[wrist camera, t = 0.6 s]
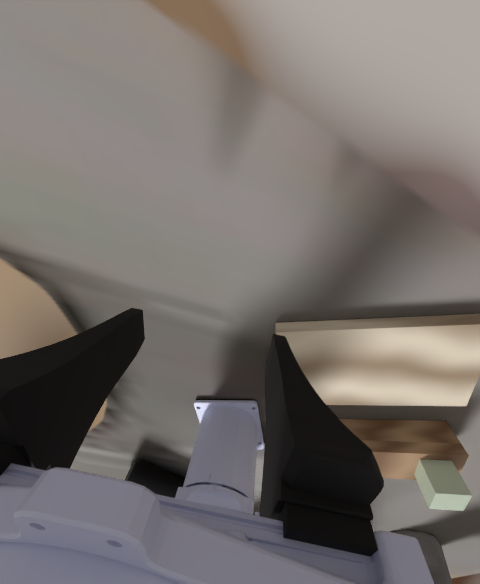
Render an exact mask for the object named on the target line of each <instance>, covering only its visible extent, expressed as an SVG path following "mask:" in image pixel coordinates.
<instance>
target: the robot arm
mask: <svg viewBox="0 0 480 584" xmlns="http://www.w3.org/2000/svg"><path fill="white" fill-rule="evenodd" d="M144 339H145V337H144V323H143V310H140V309H135V308H131V309H129V310H126V311H124V312H122V313H120V314H119V315H117V316H115V317H113V318H111V319H109V320H107V321H105V322H103V323H101V324H99V325H97V326H95V327H93V328H91V329H88V330H86V331H84V332H82V333H80V334H78V335H75V336H73V337H71V338H68V339H66V340H63V341H60V342H57V343H55V344H52V345H49V346H46V347H43V348H39V349H37V350H33V351H30V352H27V353H23V354H19V355H15V356H12V357H7V358H3V359H0V584H434V582H433V579H432V576H431V574H430V571H429V568H428V566H427V563H426V561H425V558H424V555H423V553H422V550H421V547H420V545H419V542H418V540H417V539H416V538H414V537H411V536H406V535H401V534H396V533H392V532H387V531H375V532H374V533H373V529H372V525H371V522H370V520H372V519H373V514H372V510H371V507H370V504H371V503H372V501H373V500H374V499H375V498H376V497H377V496H378V494H379V493H380V492H381V490H382V488H383V486H384V480H383V477H382V474H381V472H380V469H379V466H378V463H377V461H376V459H375V457H374V454H373V452H372V450H371V449H370V448H369V447H368V446H367V445H366V444H365V443H364V442H363V441H361V440H360V439H359V438H358V437H357V436H356V435H355V434H354V433H352V432H351V431H350V430H349V429H348V428H347V427H346V426H345V425H344V424H343V423H342V422H341V421H340V420H339V419H338V418H337V417H336V415H335V414H334V413H333V412H332V411H331V410H330V409H329V407H328V406H327V405H326V404H325V403H324V402H323V400H322V399H321V398H320V397H319V395H318V394H317V393H316V391H315V390H314V388H313V387H312V386H311V384H310V383H309V381H308V379H307V378H306V376H305V375H304V373H303V371H302V369H301V368H300V366H299V364H298V362H297V360H296V358H295V356H294V354H293V352H292V350H291V348H290V346H289V343H288V341H287V338H286V337H285V336H282V335H276V334H273V338H272V342H271V346H270V350H269V354H268V358H267V362H266V372H265V400H266V438H265V453H264V467H263V480H262V492H261V503H260V512H255V515H253V512H254V487H255V470H256V454H257V450H262V449H264V440H263V434H262V428H261V422H260V416H259V409H258V403H257V402H256V401H250V400H196V401H195V402H194V407H195V410H196V413H197V416H198V419H199V422H200V427H199V430H198V434H197V438H196V441H195V445H194V449H193V452H192V456H191V459H190V463H189V467H188V470H187V474H186V478H185V481H184V485H183V487H178V490H177V493H176V496H175V498H172V497H167V496H162V495H158V494H155V493H154V492H152V491H151V490H149V489H148V488H146V487H145V486H142V485H139V484H136V483H134V482H130V481H126V480H121V479H116V478H112V477H107V476H102V475H97V474H93V473H88V472H83V471H79V470H74V469H70V467H71V465H72V462H73V460H74V458H75V456H76V454H77V452H78V450H79V448H80V446H81V444H82V442H83V440H84V438H85V436H86V434H87V432H88V430H89V428H90V427H91V425H92V423H93V421H94V419H95V417H96V415H97V414H98V412H99V410H100V408H101V407H102V405H103V403H104V401H105V400H106V398H107V396H108V395H109V393H110V392H111V390H112V389H113V387H114V386H115V384H116V383H117V382H118V380H119V379H120V377H121V376H122V375H123V373H124V372H125V370H126V369H127V368H128V366H129V365H130V363H131V362H132V361H133V359H134V358H135V356H136V355H137V353H138V351H139V349H140V347H141V345H142V343H143V341H144Z"/></svg>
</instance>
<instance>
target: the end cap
mask: <svg viewBox="0 0 480 584" xmlns="http://www.w3.org/2000/svg"><path fill="white" fill-rule="evenodd" d="M125 480H126V481H130V482H134V483H136V484H139V485H142V486H145V487H146V488H148V489H149V490H151V491H152V492H154V493H155V494H158V495H162V496H167V497H172V498H175V496H176V493H177V490H178V487H183V485H184V481H185V479H184V478H182V477H179V476H177V475H175V474H173V473H170V472H168V471H166V470H163V469H161V468H159V467H157V466H154V465H152V464H150V463H147V462H145V461H143V460H141V459H138V460H137V461H135V462H133V464H132V466H131V468H130V470H129V472H128V474H127V476H126V479H125Z"/></svg>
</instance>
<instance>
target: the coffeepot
mask: <svg viewBox="0 0 480 584" xmlns="http://www.w3.org/2000/svg"><path fill="white" fill-rule="evenodd" d="M392 533H396V534H401V535H406V536H411V537H414V538H416V539H417V540H418V542H419V545H420V547H421V550H422V553H423V555H424V558H425V561H426V563H427V566H428V568H429V571H430V574H431V576H432V579H433V582H434V584H452V581H451V577H450V574H449V571H448V567H447V564H446V560H445V557H444V553H443V550H442V547H441V545H440V543H439V542H438V540H437V539H436V538H435V537H434V536H432V535H431V534H428V533H425V532H421V531H413V530H401V531H395V532H392Z"/></svg>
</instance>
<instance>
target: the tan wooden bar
mask: <svg viewBox="0 0 480 584" xmlns="http://www.w3.org/2000/svg"><path fill="white" fill-rule="evenodd" d="M339 420H340V421H341V422H342V423H343V424H344V425H345V426H346V427H347V428H348V429H349V430H350V431H351V432H352V433H354V434H355V435H356V436H357V437H358V438H359V439H360V440H361V441H363V442H364V443H365V444H366V445H367V446H368V447H369V448H370V449H371V450H372V452H373V454H374V457H375V459H376V461H377V463H378V466H379V469H380V472H381V474H382V477H383V478H393V479H411V480H416V478H415V475H414V474H415V471H416V468H417V465H418V462H419V459H424V460H446V461H452V462H453V463H454V465H455V467H456V469H457V470H458V472H459V474H460V472H461V470H462V468H463V466H464V464H465V462H466V460H467V458H468V456H469V455H468V454H467V452H466V451H465V449H464V448H463V446H462V445H461V443H460V442H459V440H458V438H457V437H456V435H455V434H454V432H453V431H452V429H451V428H450V426H449V425H448V423H447V421H431V420H379V419H339Z"/></svg>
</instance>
